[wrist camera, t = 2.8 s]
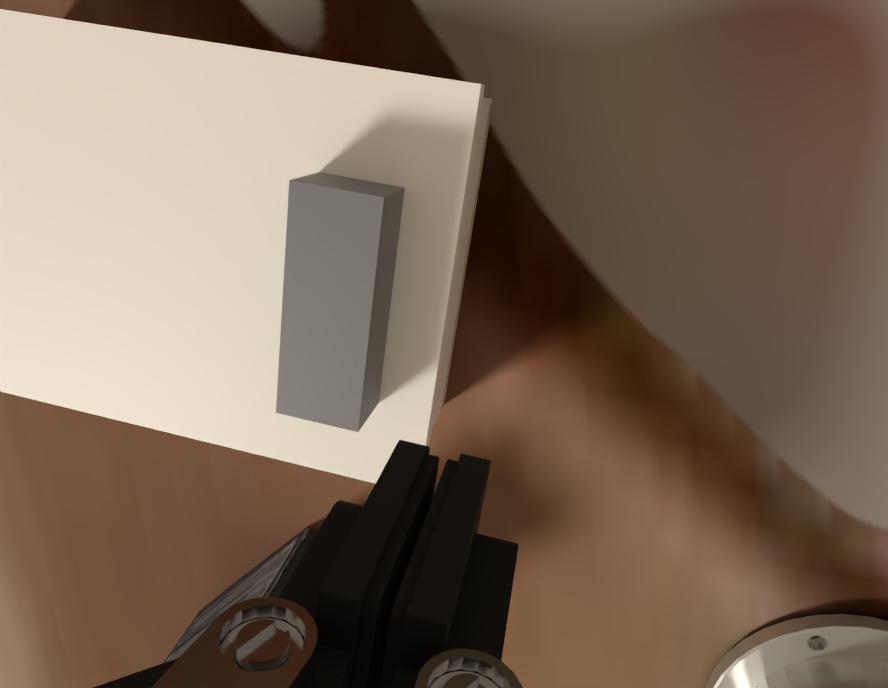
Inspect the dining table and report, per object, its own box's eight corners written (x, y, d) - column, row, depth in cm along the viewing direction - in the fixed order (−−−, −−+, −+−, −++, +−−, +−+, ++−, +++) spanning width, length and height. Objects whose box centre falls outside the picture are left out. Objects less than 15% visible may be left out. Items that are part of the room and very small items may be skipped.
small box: (274, 682, 41) (177, 859, 32) (197, 609, 41) (74, 769, 31) (391, 604, 37) (320, 779, 28) (308, 522, 37) (207, 673, 27)
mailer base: (493, 98, 27) (468, 98, 22) (444, 404, 33) (413, 466, 27) (55, 28, 30) (-66, 13, 25) (73, 320, 35) (-23, 362, 30)
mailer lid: (496, 85, 24) (467, 82, 18) (437, 450, 29) (402, 530, 24) (-35, 3, 27) (-193, -21, 21) (2, 348, 32) (-117, 398, 27)
